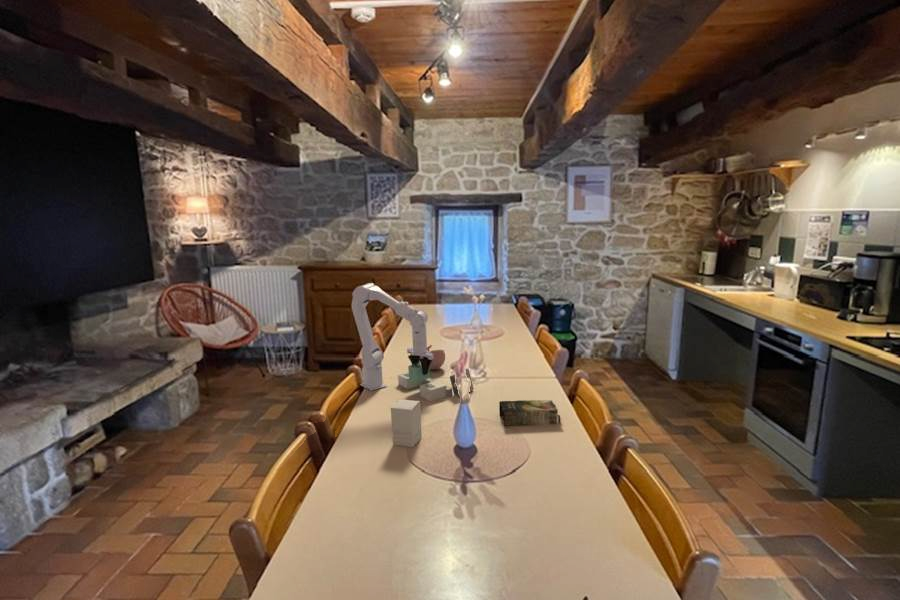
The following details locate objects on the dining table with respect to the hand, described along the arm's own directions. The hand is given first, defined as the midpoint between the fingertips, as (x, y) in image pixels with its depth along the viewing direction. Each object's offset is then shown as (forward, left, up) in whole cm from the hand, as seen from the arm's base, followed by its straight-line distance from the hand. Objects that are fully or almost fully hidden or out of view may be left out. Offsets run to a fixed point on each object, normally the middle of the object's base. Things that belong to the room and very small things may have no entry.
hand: (420, 372), depth 192 cm
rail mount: (0, +1, -7) cm, 8 cm away
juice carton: (+48, +13, -8) cm, 51 cm away
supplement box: (+34, -28, -8) cm, 45 cm away
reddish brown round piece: (-19, +19, -8) cm, 28 cm away
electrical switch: (+13, +11, -8) cm, 19 cm away
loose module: (0, -1, -2) cm, 3 cm away
